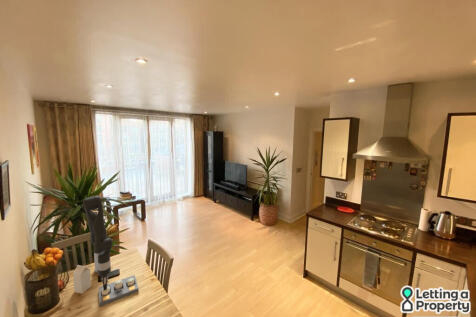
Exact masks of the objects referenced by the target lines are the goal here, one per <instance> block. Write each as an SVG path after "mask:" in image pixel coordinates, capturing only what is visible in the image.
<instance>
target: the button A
mask: <svg viewBox="0 0 476 317" xmlns="http://www.w3.org/2000/svg"><path fill="white" fill-rule="evenodd" d="M108 294H110V287H107V289H106V290H103V289H102V296H105V295H108Z"/></svg>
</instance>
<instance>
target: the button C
mask: <svg viewBox="0 0 476 317" xmlns="http://www.w3.org/2000/svg"><path fill="white" fill-rule="evenodd" d="M132 285H134V278H130V279H128V281H127V287H129V286H132Z"/></svg>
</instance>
